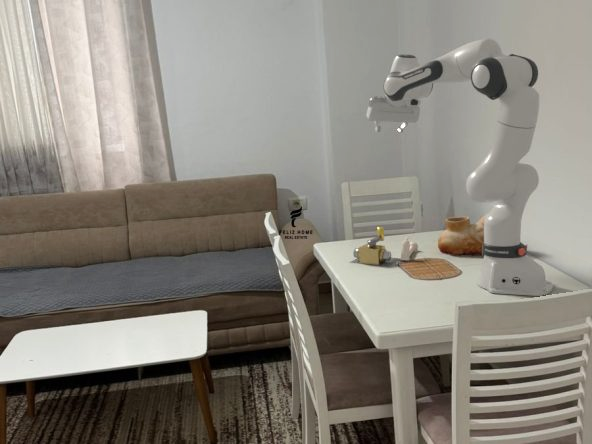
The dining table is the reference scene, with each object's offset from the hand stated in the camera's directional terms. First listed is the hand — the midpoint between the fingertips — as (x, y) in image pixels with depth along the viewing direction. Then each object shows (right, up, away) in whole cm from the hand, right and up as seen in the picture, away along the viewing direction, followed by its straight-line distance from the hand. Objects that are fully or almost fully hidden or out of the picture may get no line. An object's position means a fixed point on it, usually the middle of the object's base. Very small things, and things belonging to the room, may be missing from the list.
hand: (388, 131), depth 237 cm
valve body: (-7, -50, -3) cm, 51 cm away
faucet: (+8, -49, +3) cm, 49 cm away
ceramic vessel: (+33, -47, +5) cm, 57 cm away
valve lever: (-5, -43, -2) cm, 43 cm away
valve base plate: (-5, -50, -1) cm, 50 cm away
